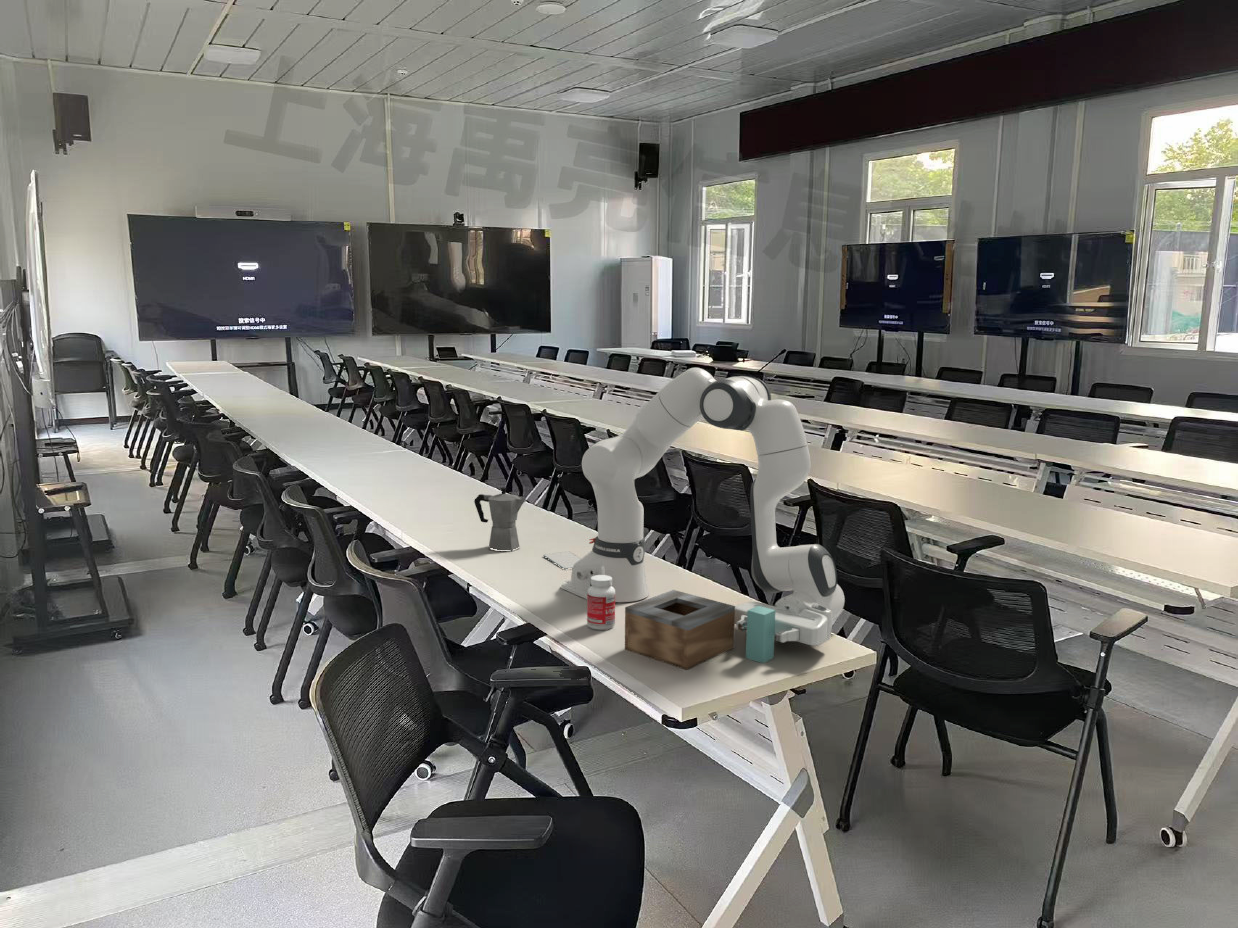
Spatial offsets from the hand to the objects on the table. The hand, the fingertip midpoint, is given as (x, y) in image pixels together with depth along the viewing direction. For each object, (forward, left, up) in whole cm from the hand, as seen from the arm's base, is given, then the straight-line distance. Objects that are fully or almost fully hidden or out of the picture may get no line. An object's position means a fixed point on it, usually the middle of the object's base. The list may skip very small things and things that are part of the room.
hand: (758, 632), depth 184 cm
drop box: (-15, -6, -6) cm, 17 cm away
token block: (0, +1, -6) cm, 6 cm away
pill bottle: (-36, -7, -6) cm, 37 cm away
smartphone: (-78, +25, -6) cm, 82 cm away
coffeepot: (-102, +22, -6) cm, 104 cm away
